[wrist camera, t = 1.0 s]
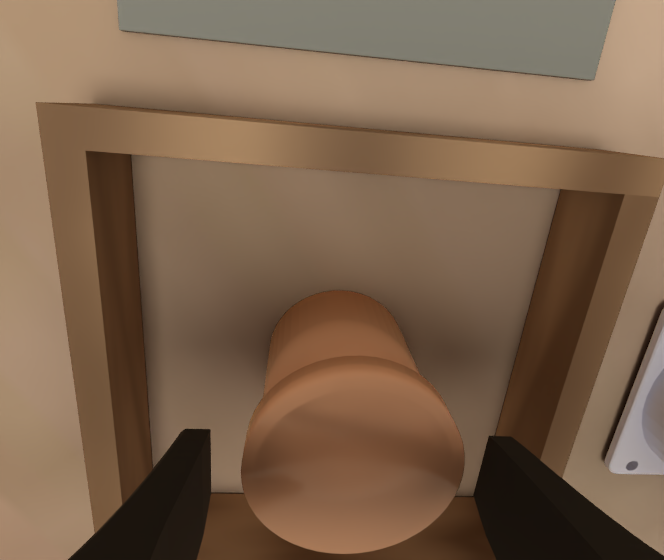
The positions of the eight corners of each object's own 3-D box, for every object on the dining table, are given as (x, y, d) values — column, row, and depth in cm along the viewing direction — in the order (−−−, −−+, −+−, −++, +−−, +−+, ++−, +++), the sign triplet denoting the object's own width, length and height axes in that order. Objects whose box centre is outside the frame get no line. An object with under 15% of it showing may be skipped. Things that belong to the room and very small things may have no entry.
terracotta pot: (421, 287, 16) (485, 382, 10) (399, 415, 18) (443, 554, 12) (264, 277, 15) (242, 373, 10) (259, 411, 17) (239, 553, 12)
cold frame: (601, 149, 15) (671, 159, 12) (495, 514, 20) (526, 579, 17) (91, 103, 13) (35, 102, 10) (131, 510, 19) (101, 580, 16)
